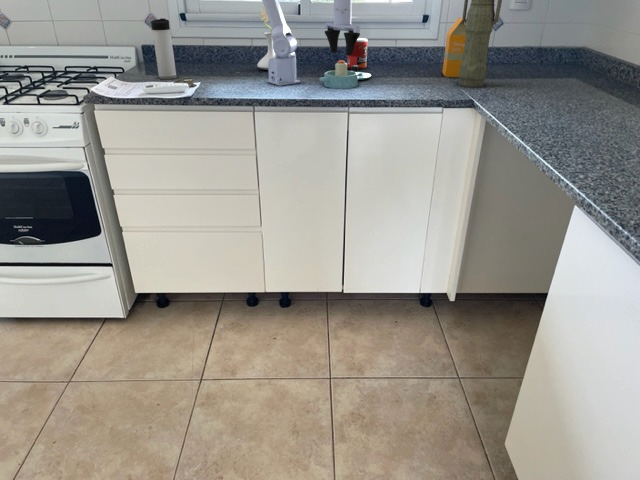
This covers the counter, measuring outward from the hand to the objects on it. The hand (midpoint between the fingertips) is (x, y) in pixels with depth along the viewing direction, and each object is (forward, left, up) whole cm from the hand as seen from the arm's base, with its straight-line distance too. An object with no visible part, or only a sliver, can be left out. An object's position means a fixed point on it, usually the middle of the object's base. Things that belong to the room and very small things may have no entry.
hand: (341, 53), depth 166 cm
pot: (0, 0, -10) cm, 10 cm away
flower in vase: (-4, +39, -11) cm, 41 cm away
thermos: (+37, -27, -11) cm, 47 cm away
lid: (+12, +7, -10) cm, 17 cm away
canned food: (+27, +23, -11) cm, 37 cm away
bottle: (0, 0, -10) cm, 10 cm away
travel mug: (-44, +48, -11) cm, 66 cm away
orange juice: (+47, -11, -11) cm, 49 cm away
